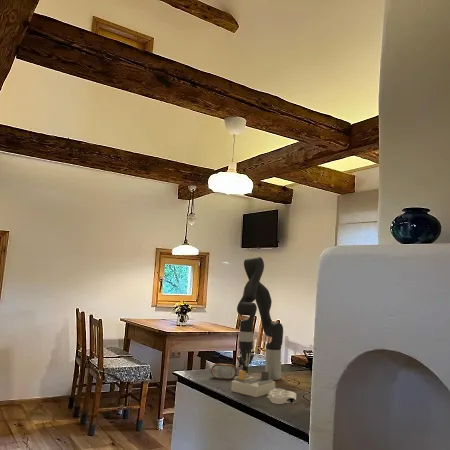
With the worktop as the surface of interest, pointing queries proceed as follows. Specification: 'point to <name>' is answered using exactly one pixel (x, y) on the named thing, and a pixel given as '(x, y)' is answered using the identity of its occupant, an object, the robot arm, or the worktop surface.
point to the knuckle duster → (281, 396)
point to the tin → (224, 371)
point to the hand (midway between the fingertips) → (245, 373)
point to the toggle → (265, 376)
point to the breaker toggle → (242, 375)
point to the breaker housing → (253, 386)
